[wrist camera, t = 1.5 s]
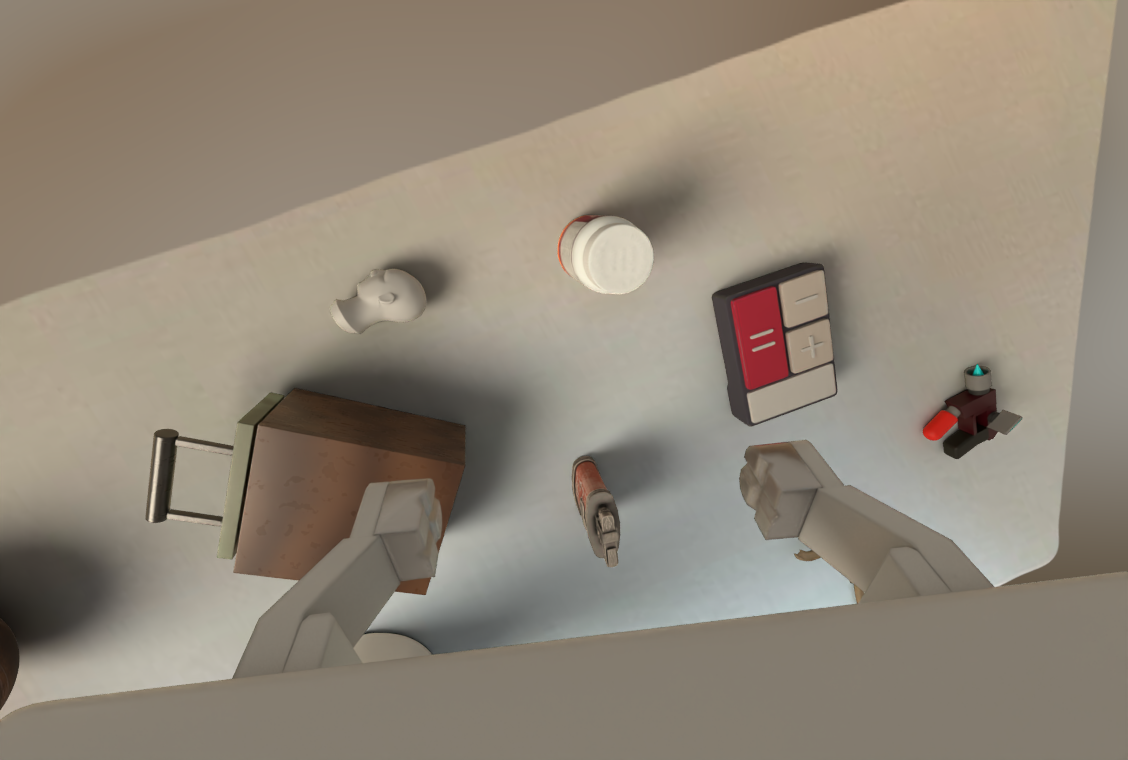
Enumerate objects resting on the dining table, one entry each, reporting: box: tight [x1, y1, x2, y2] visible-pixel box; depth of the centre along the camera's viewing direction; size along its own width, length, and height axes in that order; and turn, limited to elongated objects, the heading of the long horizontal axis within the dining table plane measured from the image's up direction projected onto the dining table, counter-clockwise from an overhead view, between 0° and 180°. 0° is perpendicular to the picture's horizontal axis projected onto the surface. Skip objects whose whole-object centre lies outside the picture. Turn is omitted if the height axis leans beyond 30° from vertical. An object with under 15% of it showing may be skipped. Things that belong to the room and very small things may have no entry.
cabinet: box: [233, 388, 466, 595], centre depth 45 cm, size 16×14×8 cm
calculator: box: [712, 263, 837, 426], centre depth 51 cm, size 11×4×15 cm
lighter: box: [572, 456, 620, 567], centre depth 50 cm, size 8×3×10 cm, turn 8°
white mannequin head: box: [330, 269, 426, 334], centre depth 41 cm, size 4×8×5 cm
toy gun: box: [923, 364, 1023, 459], centre depth 59 cm, size 10×12×5 cm
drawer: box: [146, 393, 284, 559], centre depth 43 cm, size 21×13×7 cm, turn 71°
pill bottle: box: [557, 215, 654, 294], centre depth 40 cm, size 6×6×11 cm
